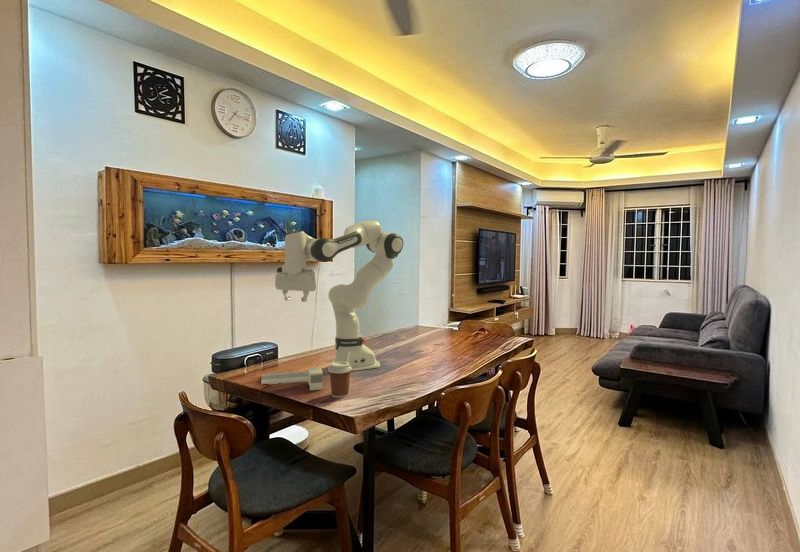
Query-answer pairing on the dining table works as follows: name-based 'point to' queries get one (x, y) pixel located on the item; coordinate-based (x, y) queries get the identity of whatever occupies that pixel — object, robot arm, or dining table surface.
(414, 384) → the dining table surface
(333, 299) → the robot arm
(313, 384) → the block
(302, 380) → the rail plate
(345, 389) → the coffee cup
